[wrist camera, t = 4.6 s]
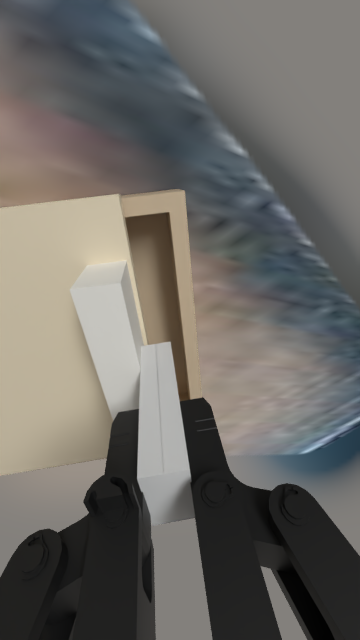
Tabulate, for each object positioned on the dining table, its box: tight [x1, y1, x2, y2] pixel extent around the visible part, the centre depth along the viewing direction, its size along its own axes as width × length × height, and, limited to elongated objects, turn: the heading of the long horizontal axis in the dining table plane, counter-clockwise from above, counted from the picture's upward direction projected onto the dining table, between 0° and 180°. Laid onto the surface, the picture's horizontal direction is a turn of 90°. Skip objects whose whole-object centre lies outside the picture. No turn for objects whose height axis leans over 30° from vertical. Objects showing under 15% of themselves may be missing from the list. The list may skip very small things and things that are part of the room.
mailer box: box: [121, 189, 202, 401], centre depth 17 cm, size 16×16×4 cm
